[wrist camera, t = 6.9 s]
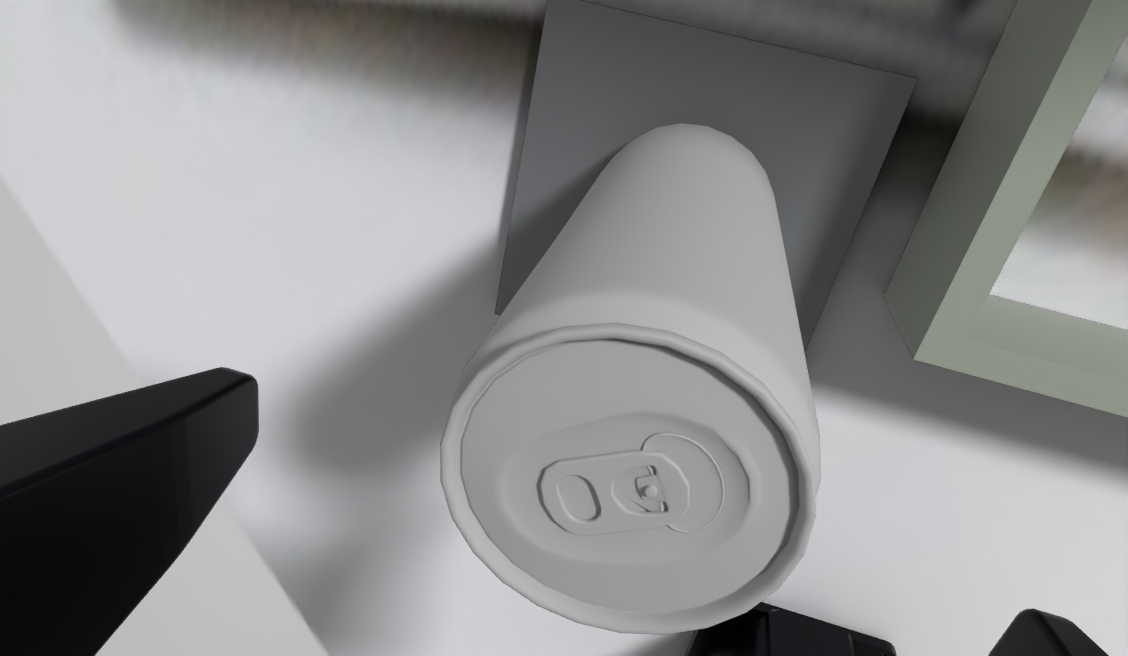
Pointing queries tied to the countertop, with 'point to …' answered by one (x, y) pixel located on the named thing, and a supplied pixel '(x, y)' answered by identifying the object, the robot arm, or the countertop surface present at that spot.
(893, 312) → the case
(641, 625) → the beverage can
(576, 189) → the pad
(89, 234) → the countertop surface
